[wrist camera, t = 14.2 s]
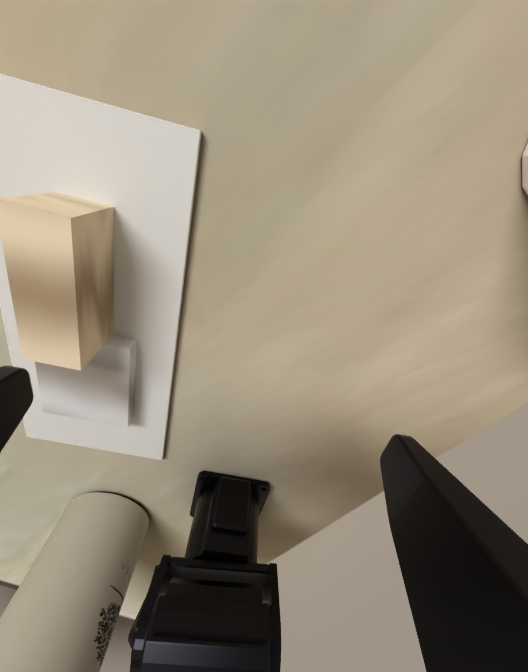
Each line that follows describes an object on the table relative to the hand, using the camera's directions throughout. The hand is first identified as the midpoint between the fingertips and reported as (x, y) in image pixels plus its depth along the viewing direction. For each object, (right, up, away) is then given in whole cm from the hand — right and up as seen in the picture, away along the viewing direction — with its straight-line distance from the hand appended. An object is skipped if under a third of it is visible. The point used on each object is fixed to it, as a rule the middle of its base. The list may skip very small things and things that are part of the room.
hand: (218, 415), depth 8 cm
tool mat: (-10, +3, +12) cm, 16 cm away
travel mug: (-14, -16, +23) cm, 32 cm away
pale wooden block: (-10, +3, +12) cm, 16 cm away
